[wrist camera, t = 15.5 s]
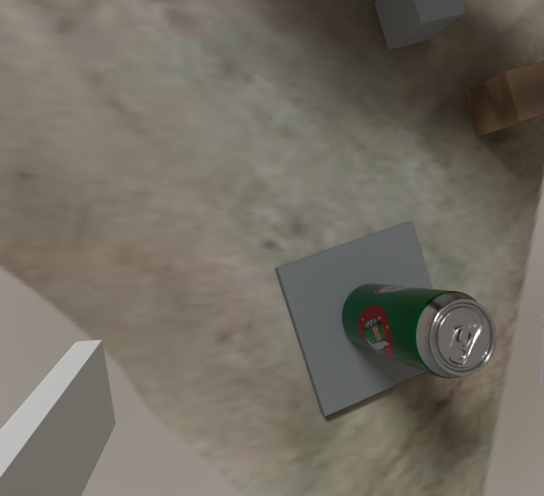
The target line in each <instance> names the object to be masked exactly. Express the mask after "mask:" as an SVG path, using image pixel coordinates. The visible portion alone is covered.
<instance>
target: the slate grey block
mask: <svg viewBox="0 0 544 496" xmlns="http://www.w3.org/2000/svg"><path fill="white" fill-rule="evenodd" d="M374 4H375V7H376V11H377V14H378V17H379V21H380V24H381V27H382V31H383V34H384V37H385V41H386V44H387V47H388V50H393V49H397V48H401V47H405V46H409V45H413V44H417V43H421V42H425V41H429V40H430V39H432V38H433V37H434V36H436V35H437V34H438V33H440V32H441V31H442V30H444V29H445V28H446V27H448V26H449V25H450V24H452V23H453V22H454V21H456V20H457V19H458V18H460V17H461V16H462V15H464V14H465V13H466V12H465V9H464V5H463V2H462V0H377V1H376V2H375V3H374Z"/></svg>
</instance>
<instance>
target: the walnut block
mask: <svg viewBox="0 0 544 496" xmlns="http://www.w3.org/2000/svg"><path fill="white" fill-rule="evenodd" d="M465 95H466V99H467V102H468V106H469V109H470V113H471V116H472V120H473V123H474V127H475V131H476V134H477V136H481V135H484V134H487V133H491V132H494V131H497V130H501V129H504V128H507V127H511V126H514V125H517V124H520V123H522V122H525V121H528V120H531V119H533V118H536V117H539V116H542V115H544V61H542V62H538V63H534V64H530V65H526V66H523V67H519V68H515V69H511V70H507V71H504V72H502V73H501V74H499V75H497V76H495V77H493V78H491V79H489V80H487V81H485V82H483V83H481V84H479V85H477V86H475V87H473V88H471V89H469V90H467V91H466V92H465Z"/></svg>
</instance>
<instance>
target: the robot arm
mask: <svg viewBox="0 0 544 496" xmlns="http://www.w3.org/2000/svg"><path fill="white" fill-rule="evenodd" d="M540 388H541V389H542V390H543V391H544V314H543V334H542V354H541V375H540ZM114 426H115V418H114V411H113V405H112V399H111V393H110V386H109V380H108V374H107V367H106V361H105V355H104V348H103V342H102V340H93V341H81V342H75V344H74V345H73V346H72V347H71V348H70V349H69V351H68V352H67V353H66V354H65V355H64V356H63V357H62V359H61V360H60V361H59V362H58V363H57V365H56V366H55V367H54V368H53V369H52V370H51V371H50V373H49V374H48V375H47V376H46V377H45V378H44V380H43V381H42V382H41V383H40V384H39V385H38V387H37V388H36V389H35V390H34V392H33V393H32V394H31V395H30V396H29V397H28V398H27V399H26V401H25V402H24V403H23V404H22V405H21V407H19V409H18V410H17V411H16V412H15V413H14V414H13V416H12V417H11V418H10V419H9V420H8V422H7V423H6V424H5V425H4V426H3V427H2V428H1V430H0V496H81V495H82V493H83V491H84V489H85V486H86V484H87V482H88V480H89V478H90V476H91V474H92V472H93V470H94V468H95V466H96V464H97V462H98V459H99V457H100V455H101V453H102V451H103V449H104V447H105V445H106V443H107V441H108V439H109V436H110V434H111V432H112V430H113V428H114Z"/></svg>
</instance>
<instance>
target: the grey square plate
mask: <svg viewBox="0 0 544 496" xmlns="http://www.w3.org/2000/svg"><path fill="white" fill-rule="evenodd" d="M275 270H276V273H277V277H278V280H279V283H280V286H281V289H282V292H283V295H284V298H285V302H286V305H287V308H288V311H289V314H290V317H291V320H292V323H293V326H294V330H295V333H296V336H297V339H298V342H299V345H300V348H301V351H302V354H303V358H304V361H305V364H306V367H307V370H308V373H309V376H310V379H311V382H312V386H313V389H314V392H315V395H316V398H317V401H318V404H319V407H320V410H321V414H323V415H324V416H328V415H330V414H332V413H334V412H337V411H339V410H341V409H343V408H346V407H348V406H350V405H352V404H355V403H357V402H359V401H361V400H363V399H366V398H368V397H370V396H372V395H375V394H377V393H379V392H381V391H384V390H386V389H388V388H390V387H393V386H395V385H397V384H399V383H402V382H404V381H406V380H408V379H411V378H413V377H415V376H417V375H420V374H422V373H424V372H426V371H423V370H421V369H418V368H416V367H413V366H410V365H408V364H405V363H403V362H400V361H397V360H395V359H392V358H389V357H387V356H384V355H382V354H379V353H376V352H374V351H371V350H369V349H366V348H363V347H361V346H359V345H357V344H355V343H354V342H353V341H352V340H351V339H350V338H349V337H348V335H347V334H346V332H345V330H344V327H343V323H342V310H343V306H344V303H345V301H346V299H347V298H348V296H349V295H350V294H351V292H352V291H354V290H355V289H356V288H358V287H359V286H362V285H364V284H369V283H376V284H386V285H396V286H407V287H417V288H427V289H432V286H431V282H430V279H429V276H428V272H427V269H426V266H425V263H424V259H423V256H422V253H421V249H420V246H419V243H418V239H417V236H416V233H415V229H414V226H413V223H412V221H410V222H405V223H403V224H400V225H397V226H394V227H391V228H388V229H385V230H383V231H380V232H377V233H374V234H371V235H368V236H365V237H363V238H360V239H357V240H354V241H351V242H348V243H345V244H343V245H340V246H337V247H334V248H331V249H328V250H325V251H323V252H320V253H317V254H314V255H311V256H308V257H306V258H303V259H300V260H297V261H294V262H291V263H288V264H286V265H283V266H280V267H277V268H275Z"/></svg>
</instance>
